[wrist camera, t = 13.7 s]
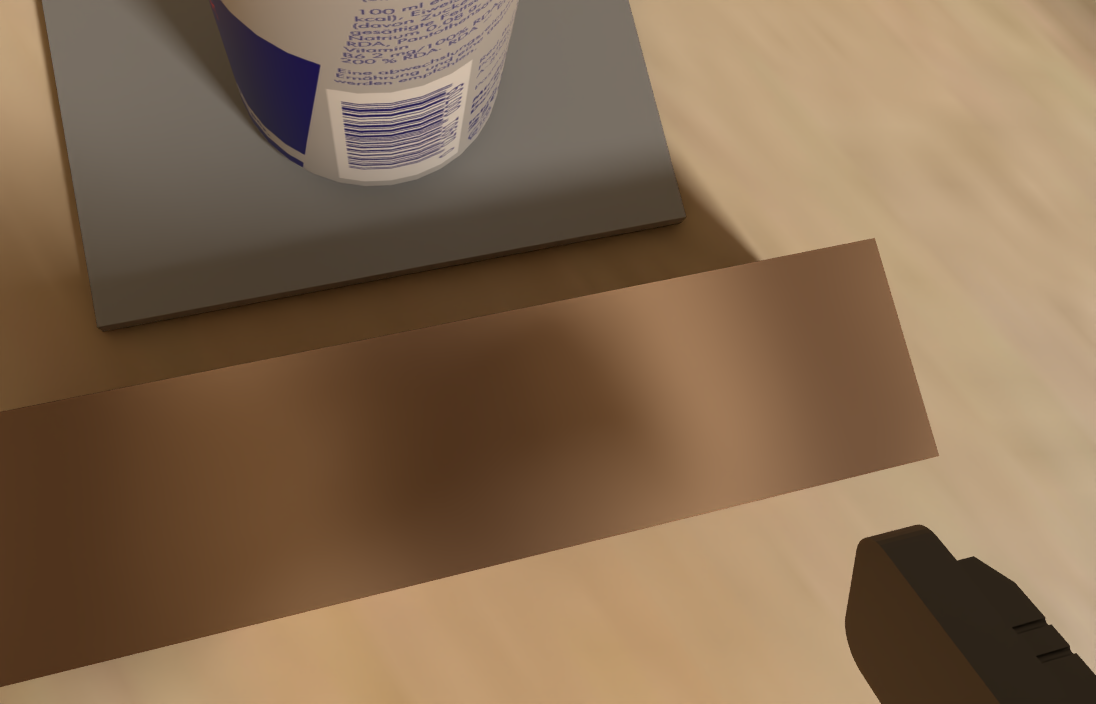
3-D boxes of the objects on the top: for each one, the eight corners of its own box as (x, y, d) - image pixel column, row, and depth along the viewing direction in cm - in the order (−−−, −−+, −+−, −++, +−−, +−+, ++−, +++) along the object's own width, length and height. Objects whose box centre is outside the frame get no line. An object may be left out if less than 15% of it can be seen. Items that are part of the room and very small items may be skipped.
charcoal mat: (582, -146, 24) (586, -158, 23) (680, 222, 22) (686, 216, 22) (32, -83, 21) (25, -95, 21) (102, 331, 20) (97, 327, 20)
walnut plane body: (790, 293, 22) (874, 238, 18) (840, 473, 22) (938, 456, 18) (8, 454, 19) (-87, 429, 15) (42, 669, 19) (-49, 698, 15)
